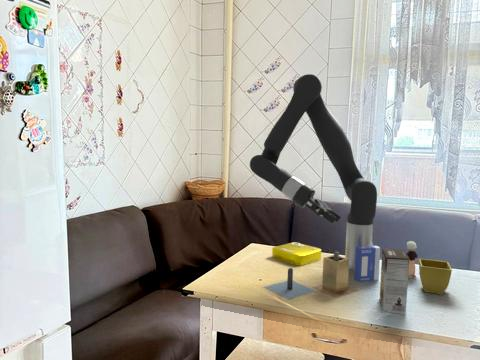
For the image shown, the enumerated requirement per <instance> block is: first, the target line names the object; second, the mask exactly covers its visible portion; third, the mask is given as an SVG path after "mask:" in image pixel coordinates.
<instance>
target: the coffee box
mask: <svg viewBox="0 0 480 360" xmlns="http://www.w3.org/2000/svg"><path fill="white" fill-rule="evenodd" d="M381 251H382V252H381V264H380V265H381V267H380V284H379V302H380V304H381V309H382V311H384V312H388V313H392V314H402V315H406V314H407V302H408V301H407V299H408V285H409V278H408V274H409V260H410V259H409V257H408V255H407V252H406V250H405V249H399V248H398V249H397V248H396V249H395V248H382V250H381Z"/></svg>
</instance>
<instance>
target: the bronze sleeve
mask: <svg viewBox="0 0 480 360" xmlns="http://www.w3.org/2000/svg"><path fill="white" fill-rule="evenodd" d="M322 260H323V261H322V281H321V282H322V284H321V285H322V288H323V289H326V290H328V291H330V292H333V293H335V294H337V293H340V292H343V291H346V290H348V287H349V272H350V270H349V259H347V258H345V256H344V257H343V256H340V255H339V261H335V260H334V254H333V255H329V256H325V257H323V259H322Z"/></svg>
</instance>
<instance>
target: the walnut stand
mask: <svg viewBox="0 0 480 360" xmlns="http://www.w3.org/2000/svg"><path fill="white" fill-rule="evenodd" d="M333 255H334V260H335V261H339V256H340V252H339V251H334V252H333ZM311 289H314V290H316V291H319V292H322V293H324V294H327V295H329V296H332V297H334V298H340V297H343V296H345V295H350V294H352V293H355V292H358V290H357V289H355V288H353V287H349V286H348V290H346V291H343V292H340V293H337V294H335V293H333V292H330V291H328V290H326V289H323V288H322V284H319V285H316V286H313V287H312V288H311Z"/></svg>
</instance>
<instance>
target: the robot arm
mask: <svg viewBox="0 0 480 360" xmlns="http://www.w3.org/2000/svg"><path fill="white" fill-rule="evenodd" d="M292 89H293V91H292V92H293V94H292V96H291V99H290V101H289V103H288V104H287V106H286V107H285V110H284V111H283V113H282V114H281V115H280V117H279V118H278V119H277V121H276V122H275V124H274V125H273V127H272V128H271V130H270V132H269V133H268V135H267V137H266V139H265V140H264V143H263V146H264V148H263V151H262V152H261V154H256V155H254V156H253V157H251V159H250V161H249V168H250V170H251V172H252V173H253V174H255V175H256V176H258V177H259V178H261V179H262V180H264V181H266V182H267V183H268V184H270V185H272V186H273V187H274V188H275V189H276V190H278V191H279V192H281V194H283V195H284V196H285V197H286V198H287V199H289V200H290V201H291V202H293V203H294V204H295V205H297V206H298V207H299V208H301V209H304V208H305V207H306V208H308V209H309V210H311V211H312V212H313V213H315V214H316V215H317V216H320V217H323V218H324V219H326V220H327V221H328V222H329V223H331V224H333V223H334V222H336V223H337V222H339V220H340V219H341V216H340V215H339V214H338V213H337V212H335V211H334V210H333V209H332V207H330V206H328V205H327V204H326V203H324V202H323V201H322V200H321V199H319V198H314V196H315V194H316V190H315V189H313V188H312V187H311V186H309V185H307V184H306V183H305V182H304V181H302V180H300V179H299V178H298V177H295V176H294V175H292V174H291V173H289V172H288V171H287V170H285V169H283V168H281V167H280V166H278V165H277V163H278V161H279V158H280V156H281V153H282V152H283V150H284V148H285V147H286V145H287V143H288V141H289V140H290V138H291V136H292V134H293V133H294V130H295V129H296V127H297V125H299V122H300V120H301V119H302V118H303V116H304V114H305V113H306V115H307V116H308V119H309V120H310V124H311V125H312V127H313V130H314V132H315V134H316V136H317V139H318V141H319V143H320V144H321V147H322V149H323V151H324V152H325V154H326V156H327V157H328V159H329V161H330V163H331V164H332V166H333V167H334V169H335V170H336V173H337V174H338V177H339V179H340V182H341V184H342V187H343V189H344V192H345V195H346V197H347V198H348V199H349V201H350V210H349V213H348V214H347V216H346V233H345V253H344V254H345V256H344V258H347V259H349V271H354V272H355V256H356V247H359V246H374V243H373V234H374V233H373V229H374V219H375V217H376V213H377V203H378V201H377V200H378V191H377V190H378V189H377V187H376V185H375V184H374V183H373V182H372V181H370V180H367V179H365V177H364V176H363V174H362V172H360V170H359V168H358V166H357V165H356V163H355V158H354V155H353V149H352V145H351V143H350V140H349V139H348V136H347V134H346V132H345V131H344V129H343V127H342V126H341V124H340V122H339V121H338V119H336V117H335V116H334V115H333V113H332V112H330V110H329V108H328V107H327V105H326V103H325V101H324V99H323V96H322V94H321V93H322V91H323V90H322V89H323V86H322V81H321V79H320V78H319V77H318V76H317V75H315V74H311V73H310V74H309V73H308V74H304V75H302V76H300V77H298V78H297V79H296V80H295V82H294V84H293V87H292Z"/></svg>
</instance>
